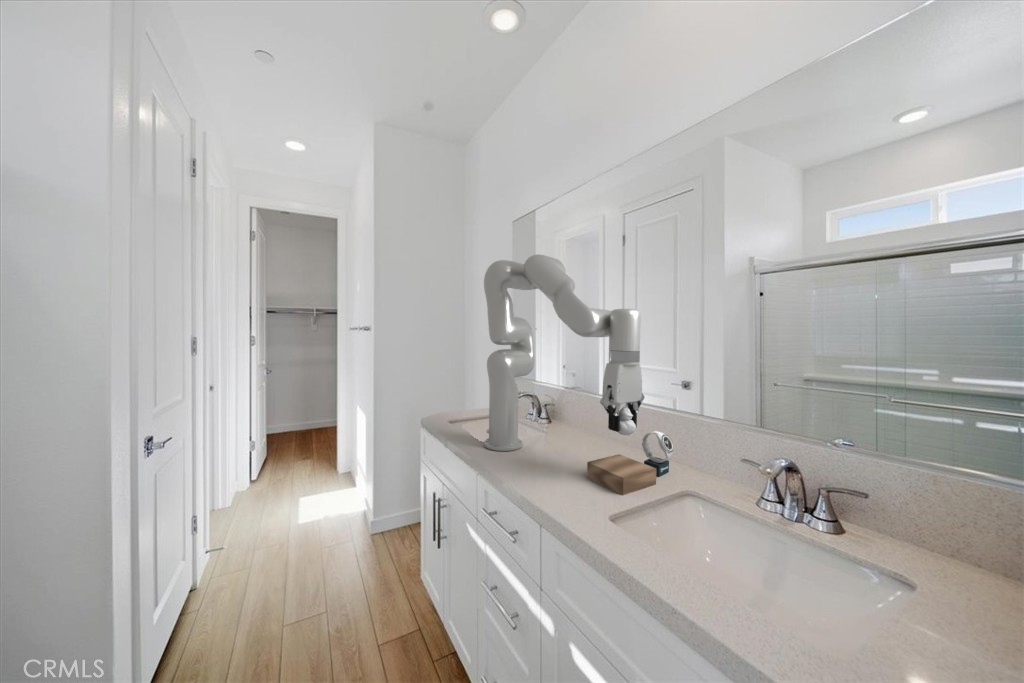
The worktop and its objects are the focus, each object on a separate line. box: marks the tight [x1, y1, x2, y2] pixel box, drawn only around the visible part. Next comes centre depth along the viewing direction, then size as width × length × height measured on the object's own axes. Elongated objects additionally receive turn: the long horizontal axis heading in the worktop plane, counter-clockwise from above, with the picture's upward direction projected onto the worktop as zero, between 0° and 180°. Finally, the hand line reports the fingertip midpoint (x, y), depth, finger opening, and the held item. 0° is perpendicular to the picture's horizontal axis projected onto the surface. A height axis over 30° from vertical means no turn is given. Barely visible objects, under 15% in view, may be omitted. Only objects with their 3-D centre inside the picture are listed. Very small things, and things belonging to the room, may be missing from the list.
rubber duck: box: [617, 403, 637, 436], centre depth 93 cm, size 5×7×8 cm
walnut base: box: [586, 454, 657, 496], centre depth 93 cm, size 12×12×4 cm
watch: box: [641, 430, 675, 478], centre depth 99 cm, size 6×8×11 cm
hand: (622, 428), depth 93 cm, fingers closed on rubber duck, 5 cm apart
